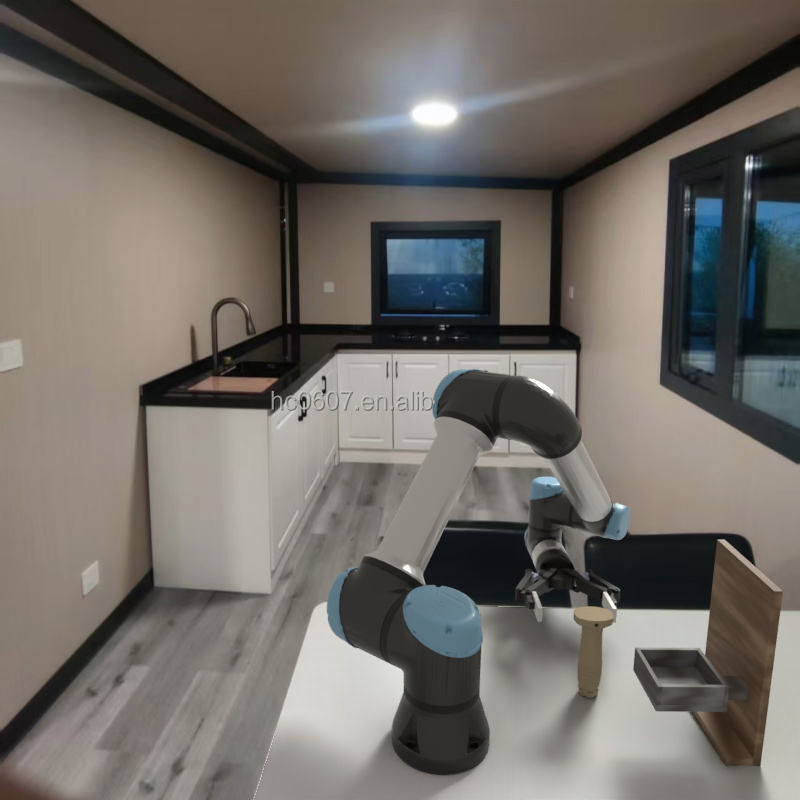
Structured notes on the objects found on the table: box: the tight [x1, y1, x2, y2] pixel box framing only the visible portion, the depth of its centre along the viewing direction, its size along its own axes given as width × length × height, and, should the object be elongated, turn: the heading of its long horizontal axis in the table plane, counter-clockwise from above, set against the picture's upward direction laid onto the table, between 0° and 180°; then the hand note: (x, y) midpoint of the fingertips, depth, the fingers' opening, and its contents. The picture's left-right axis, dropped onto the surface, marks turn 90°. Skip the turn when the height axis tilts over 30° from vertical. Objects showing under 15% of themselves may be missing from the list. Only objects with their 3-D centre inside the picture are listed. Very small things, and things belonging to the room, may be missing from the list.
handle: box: [572, 606, 614, 699], centre depth 117 cm, size 5×6×15 cm
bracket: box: [632, 539, 784, 767], centre depth 108 cm, size 16×18×28 cm
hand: (577, 615), depth 127 cm, fingers open, 13 cm apart
